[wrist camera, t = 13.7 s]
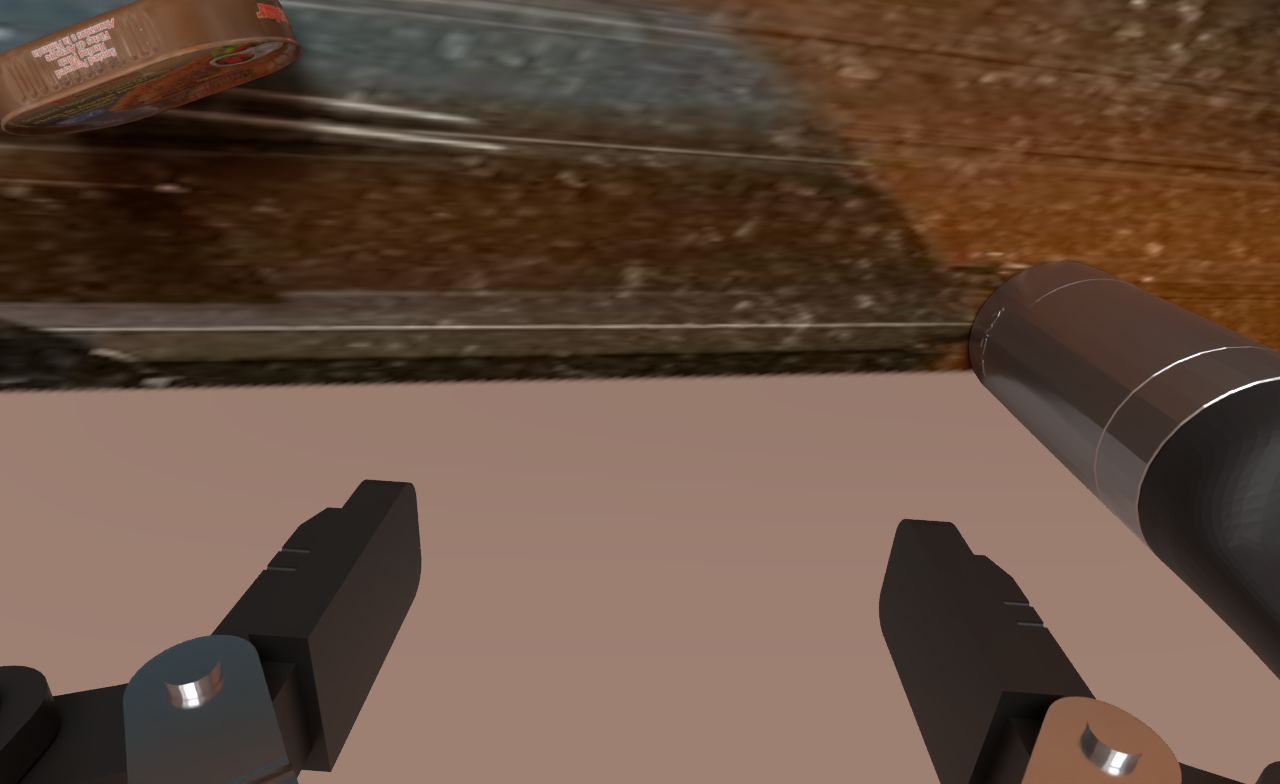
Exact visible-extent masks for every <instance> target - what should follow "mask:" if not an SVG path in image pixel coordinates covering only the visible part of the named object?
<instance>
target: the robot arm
mask: <svg viewBox="0 0 1280 784" xmlns="http://www.w3.org/2000/svg"><path fill="white" fill-rule="evenodd" d="M969 354H970V361H971V364H972V367H973V370H974V373H975V374H976V376H977V377H978V379H979V380H980V382H981V383H982V384H983V385H984V386H985V387H986V388H987V389H988V390H989V391H990V392H991V393H992V394H993V395H994V396H995V397H996V398H997V399H998V400H999V401H1000V402H1001V403H1002V404H1003V405H1004V406H1005V407H1006V408H1007V409H1008V410H1009V411H1010V412H1011V413H1012V414H1013V415H1014V416H1015V417H1016V418H1017V419H1018V420H1019V421H1020V422H1021V423H1022V424H1023V425H1024V426H1025V427H1026V428H1027V429H1028V430H1029V431H1030V432H1031V433H1032V434H1033V435H1034V436H1035V437H1036V438H1037V439H1038V440H1039V441H1040V442H1041V443H1042V444H1043V445H1044V446H1045V447H1046V448H1047V449H1048V450H1049V451H1050V452H1051V453H1052V454H1053V455H1054V456H1055V457H1056V458H1057V459H1058V460H1059V461H1060V462H1061V463H1062V464H1063V465H1064V466H1065V467H1066V468H1068V469H1069V471H1071V472H1072V473H1073V474H1074V475H1075V476H1076V477H1077V478H1078V479H1079V480H1080V481H1081V482H1082V483H1083V484H1084V485H1085V486H1086V487H1087V488H1088V489H1089V490H1090V491H1091V492H1092V493H1093V494H1094V495H1095V496H1096V497H1097V498H1098V499H1099V500H1100V501H1101V502H1102V503H1103V504H1104V505H1105V506H1106V507H1107V508H1108V509H1109V510H1110V511H1111V512H1112V513H1113V514H1114V515H1116V516H1117V517H1118V518H1119V519H1120V520H1121V521H1122V522H1123V523H1124V524H1125V525H1126V526H1127V527H1128V528H1129V529H1130V530H1131V531H1132V532H1133V533H1134V534H1135V535H1136V536H1137V537H1138V538H1139V539H1140V540H1141V541H1142V542H1143V543H1144V544H1145V545H1146V546H1147V547H1148V548H1149V549H1150V550H1151V551H1152V552H1153V553H1154V554H1155V555H1156V556H1157V557H1158V558H1160V560H1161V561H1162V562H1164V563H1165V564H1166V565H1167V566H1168V567H1169V568H1170V569H1171V570H1172V571H1173V572H1174V573H1175V574H1176V575H1177V576H1178V577H1180V579H1182V580H1183V581H1184V582H1185V583H1186V584H1187V585H1188V586H1189V587H1190V588H1191V589H1192V590H1193V591H1194V592H1195V593H1196V594H1197V595H1198V596H1199V597H1200V598H1201V599H1202V600H1203V601H1204V602H1205V603H1206V604H1207V605H1208V606H1209V607H1210V608H1211V609H1212V610H1213V611H1214V612H1215V613H1216V614H1217V615H1218V616H1219V617H1220V618H1221V619H1222V620H1223V621H1224V622H1225V623H1226V624H1227V625H1228V626H1229V627H1230V628H1231V629H1232V630H1233V631H1234V632H1235V633H1236V634H1237V635H1238V636H1239V637H1240V638H1241V639H1242V640H1243V641H1244V642H1245V643H1246V644H1247V645H1248V646H1249V647H1250V648H1251V649H1252V650H1253V651H1254V653H1255V654H1256V655H1257V656H1258V657H1259V658H1260V659H1261V660H1262V661H1263V662H1264V663H1265V664H1266V665H1267V667H1268V668H1269V669H1270V670H1271V671H1272V672H1273V673H1274V674H1275V675H1276V676H1277V677H1278V678H1279V679H1280V352H1277V351H1275V350H1273V349H1271V348H1269V347H1266V346H1264V345H1262V344H1260V343H1258V342H1256V341H1253V340H1251V339H1249V338H1247V337H1245V336H1242V335H1240V334H1238V333H1236V332H1234V331H1232V330H1229V329H1227V328H1225V327H1223V326H1221V325H1218V324H1216V323H1214V322H1212V321H1210V320H1207V319H1205V318H1203V317H1201V316H1199V315H1197V314H1194V313H1192V312H1190V311H1188V310H1186V309H1183V308H1181V307H1179V306H1177V305H1175V304H1173V303H1170V302H1168V301H1166V300H1164V299H1162V298H1159V297H1157V296H1155V295H1153V294H1151V293H1149V292H1146V291H1144V290H1142V289H1140V288H1138V287H1136V286H1134V285H1132V284H1130V283H1127V282H1125V281H1123V280H1121V279H1119V278H1116V277H1114V276H1112V275H1110V274H1108V273H1105V272H1103V271H1101V270H1099V269H1097V268H1094V267H1092V266H1088V265H1085V264H1082V263H1078V262H1065V261H1060V262H1052V263H1045V264H1042V265H1039V266H1035V267H1032V268H1029V269H1027V270H1025V271H1023V272H1021V273H1019V274H1017V275H1015V276H1014V277H1012V278H1010V279H1009V280H1008V281H1007V282H1005V283H1004V284H1003V285H1001V286H1000V287H999V288H997V290H996V291H995V292H994V293H993V294H992V295H991V296H990V297H989V298H988V299H987V301H986V302H985V303H984V305H983V307H982V308H981V310H980V311H979V313H978V315H977V316H976V319H975V322H974V324H973V327H972V329H971V334H970V341H969ZM420 574H421V549H420V537H419V526H418V512H417V500H416V492H415V488H414V486H413V484H412V483H407V482H392V481H379V480H364V481H363V482H361V484H360V485H359V486H358V487H357V489H356V490H355V491H354V493H353V494H352V495H351V497H350V498H349V500H348V501H347V502H346V503H345V505H344V506H343V507H342V508H326V509H325V510H323V511H322V512H320V513H318V514H317V515H315V516H314V517H312V518H311V519H309V520H307V521H306V522H304V523H303V524H301V525H300V526H299V527H298V528H297V530H296V531H295V532H294V533H293V534H292V536H291V537H290V538H289V539H288V541H287V542H286V543H285V544H284V546H283V547H282V551H281V552H280V551H279V552H278V553H277V554H276V555H275V557H274V558H273V559H272V560H271V562H270V563H269V564H268V568H267V570H263V571H262V573H261V574H260V575H259V576H258V578H257V579H256V580H255V581H254V582H253V584H252V585H251V586H250V587H249V589H248V590H247V591H246V592H245V594H244V595H243V596H242V597H241V599H240V600H239V601H238V602H237V603H236V605H235V606H234V607H233V608H232V610H231V611H230V612H229V614H228V615H227V616H226V617H225V618H224V619H223V621H222V622H221V623H220V624H219V626H218V627H217V628H216V629H215V631H214V632H213V633H212V634H211V635H210V636H204V637H199V638H195V639H192V640H188V641H185V642H182V643H180V644H177V645H175V646H173V647H171V648H169V649H167V650H165V651H163V652H161V653H160V654H158V655H157V656H155V657H153V658H152V659H151V660H149V661H148V662H147V663H146V664H144V666H142V667H141V668H140V669H139V670H138V671H137V672H136V674H135V675H134V676H133V677H132V678H131V680H130V682H129V683H127V684H122V685H117V686H112V687H105V688H100V689H93V690H88V691H82V692H76V693H71V694H64V695H59V696H52V694H51V691H50V689H49V686H48V683H47V681H46V678H45V677H44V675H43V674H42V673H41V672H39V671H37V670H36V669H33V668H29V667H25V666H2V667H0V784H298V781H297V777H298V775H299V773H300V771H301V770H312V771H327V772H331V770H332V768H333V766H334V764H335V762H336V760H337V758H338V756H339V754H340V752H341V750H342V748H343V746H344V743H345V741H346V739H347V737H348V735H349V733H350V731H351V729H352V727H353V725H354V723H355V721H356V719H357V716H358V714H359V712H360V710H361V708H362V706H363V704H364V702H365V700H366V698H367V696H368V694H369V691H370V689H371V687H372V685H373V683H374V681H375V679H376V677H377V675H378V673H379V671H380V669H381V667H382V664H383V662H384V660H385V658H386V656H387V654H388V652H389V650H390V648H391V646H392V644H393V642H394V639H395V637H396V635H397V633H398V631H399V629H400V627H401V625H402V623H403V621H404V619H405V617H406V615H407V613H408V610H409V608H410V606H411V604H412V602H413V600H414V598H415V595H416V592H417V589H418V585H419V581H420ZM879 618H880V625H881V629H882V633H883V636H884V638H885V641H886V643H887V646H888V649H889V651H890V654H891V656H892V659H893V661H894V664H895V667H896V669H897V672H898V674H899V677H900V679H901V682H902V685H903V687H904V690H905V692H906V695H907V698H908V700H909V703H910V706H911V708H912V710H913V713H914V716H915V719H916V721H917V724H918V726H919V729H920V731H921V734H922V737H923V739H924V742H925V745H926V747H927V750H928V752H929V755H930V757H931V760H932V763H933V765H934V767H935V770H936V773H937V775H938V778H939V781H940V783H941V784H1244V783H1241V782H1238V781H1235V780H1232V779H1229V778H1225V777H1222V776H1219V775H1216V774H1213V773H1210V772H1207V771H1203V770H1200V769H1197V768H1194V767H1191V766H1188V765H1185V764H1182V763H1180V762H1178V761H1177V759H1176V757H1175V755H1174V753H1173V752H1172V750H1171V749H1170V748H1169V746H1168V745H1167V744H1166V743H1165V742H1164V741H1163V739H1162V738H1161V737H1160V736H1159V735H1158V734H1157V733H1156V732H1155V731H1153V730H1152V729H1151V728H1150V727H1148V726H1147V725H1146V724H1145V723H1143V722H1142V721H1141V720H1139V719H1138V718H1136V717H1134V716H1133V715H1131V714H1130V713H1128V712H1126V711H1124V710H1122V709H1120V708H1118V707H1116V706H1114V705H1111V704H1109V703H1106V702H1103V701H1100V700H1096V698H1095V697H1094V696H1093V694H1092V693H1091V691H1090V690H1089V688H1088V687H1087V686H1086V684H1085V682H1084V681H1083V680H1082V678H1081V677H1080V675H1079V674H1078V672H1077V671H1076V669H1075V668H1074V666H1073V665H1072V663H1071V662H1070V661H1069V659H1068V658H1067V656H1066V655H1065V653H1064V652H1063V650H1062V649H1061V647H1060V646H1059V644H1058V643H1057V642H1056V640H1055V639H1054V637H1053V636H1052V634H1051V633H1050V631H1049V630H1048V628H1044V627H1043V621H1042V620H1041V618H1040V617H1039V615H1038V614H1037V612H1036V611H1035V610H1034V608H1033V607H1030V606H1029V601H1028V599H1027V598H1026V597H1025V595H1024V594H1023V592H1022V591H1021V589H1020V588H1019V586H1018V585H1017V584H1016V582H1015V581H1014V579H1013V578H1012V577H1011V576H1010V575H1009V574H1007V573H1006V572H1005V571H1004V570H1003V569H1001V568H1000V567H999V566H998V565H996V564H995V563H994V562H993V561H991V560H990V559H989V558H988V557H986V556H983V555H974V554H973V553H972V551H971V550H970V548H969V547H968V545H967V543H966V542H965V540H964V539H963V537H962V536H961V534H960V532H959V531H958V529H957V528H956V526H955V525H954V524H952V523H951V522H939V521H926V520H911V519H904V520H902V521H901V522H900V524H899V525H898V527H897V530H896V534H895V538H894V542H893V546H892V549H891V554H890V558H889V561H888V565H887V569H886V573H885V577H884V582H883V586H882V589H881V594H880V601H879ZM1255 784H1280V761H1279V762H1274V763H1272V764H1269V765H1268V766H1267V767H1266V768H1265V769H1264V770H1263V772H1262V773H1261V775H1260V777H1259V778H1258V780H1257V782H1256V783H1255Z"/></svg>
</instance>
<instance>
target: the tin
mask: <svg viewBox="0 0 1280 784" xmlns="http://www.w3.org/2000/svg"><path fill="white" fill-rule="evenodd" d="M301 53H302V48H301V46H300V44H299V43H298V42H297V41H296V38H295V36H294V33H293V31H292V28H291V26H290V24H289V21H288V19H287V16H286V14H285V12H284V10H283V8H282V6H281V4H280V3H279V1H278V0H138V1H135V2H133V3H130V4H127V5H125V6H122V7H119V8H117V9H114V10H111V11H109V12H106V13H103V14H100V15H98V16H95V17H93V18H90V19H87V20H85V21H83V22H80V23H77V24H74V25H72V26H70V27H67V28H65V29H62V30H59V31H57V32H54V33H52V34H49V35H47V36H44V37H41V38H39V39H37V40H34V41H31V42H29V43H27V44H24V45H22V46H19V47H17V48H14V49H12V50H9V51H7V52H4V53H2V54H0V120H1V127H2V129H3V130H4V131H5V132H7V133H10V134H14V135H24V136H42V135H57V134H66V133H73V132H80V131H88V130H95V129H101V128H107V127H112V126H117V125H121V124H125V123H129V122H133V121H137V120H140V119H143V118H146V117H150V116H153V115H156V114H159V113H162V112H165V111H168V110H170V109H173V108H176V107H179V106H182V105H184V104H187V103H190V102H193V101H195V100H198V99H201V98H204V97H207V96H210V95H212V94H215V93H218V92H221V91H224V90H227V89H230V88H232V87H235V86H238V85H241V84H244V83H246V82H249V81H252V80H255V79H258V78H261V77H263V76H266V75H269V74H271V73H274V72H276V71H278V70H280V69H282V68H284V67H286V66H288V65H289V64H291V63H293V62H294V61H295V60H297V59H298V58H299V56H300V55H301Z"/></svg>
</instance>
